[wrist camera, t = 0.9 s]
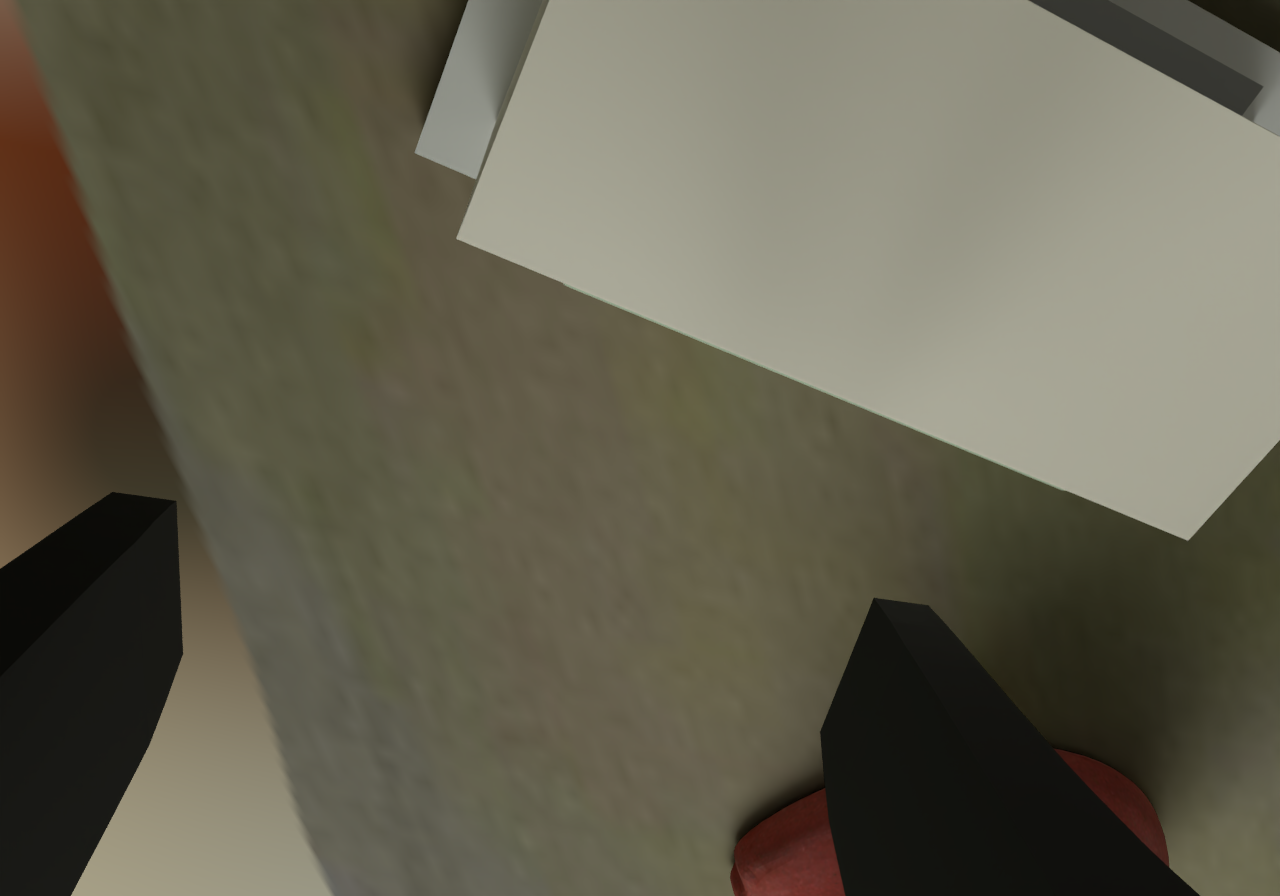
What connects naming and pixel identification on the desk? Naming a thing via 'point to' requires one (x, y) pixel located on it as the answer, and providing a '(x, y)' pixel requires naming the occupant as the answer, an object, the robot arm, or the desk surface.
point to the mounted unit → (913, 211)
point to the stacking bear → (806, 859)
